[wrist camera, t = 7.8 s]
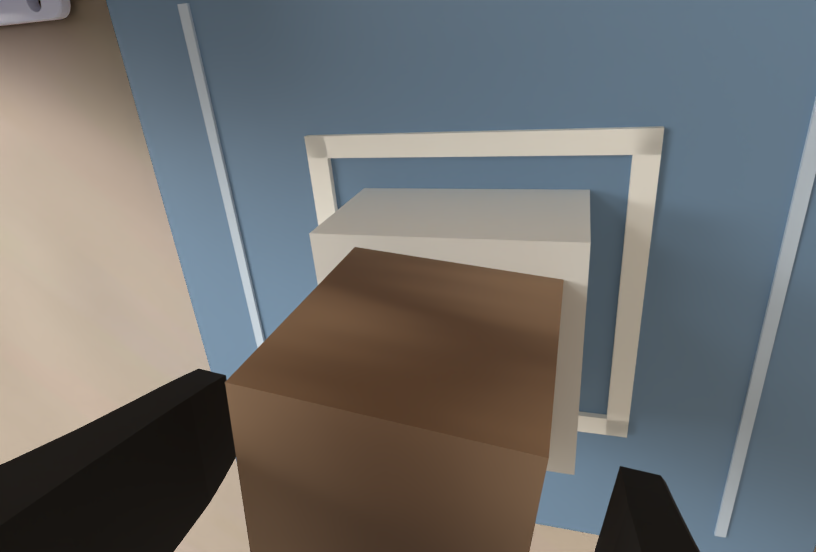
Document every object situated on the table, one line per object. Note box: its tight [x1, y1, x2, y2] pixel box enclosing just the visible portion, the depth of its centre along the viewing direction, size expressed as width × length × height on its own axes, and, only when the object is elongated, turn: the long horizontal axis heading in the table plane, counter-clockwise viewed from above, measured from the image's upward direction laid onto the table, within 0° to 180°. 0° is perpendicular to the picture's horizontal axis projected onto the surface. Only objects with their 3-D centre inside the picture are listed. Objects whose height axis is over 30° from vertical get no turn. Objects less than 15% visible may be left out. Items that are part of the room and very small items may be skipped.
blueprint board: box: [106, 0, 816, 552], centre depth 16 cm, size 20×18×1 cm
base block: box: [309, 188, 591, 475], centre depth 14 cm, size 6×6×4 cm
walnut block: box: [225, 247, 564, 552], centre depth 10 cm, size 4×4×5 cm
